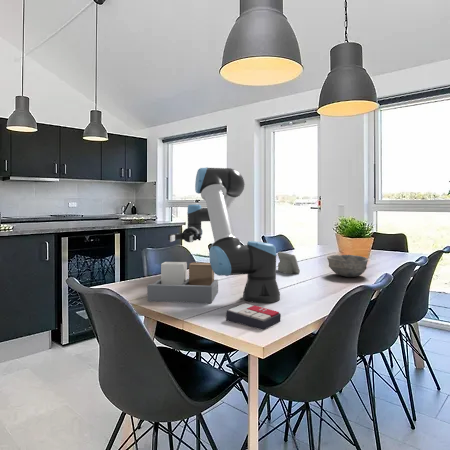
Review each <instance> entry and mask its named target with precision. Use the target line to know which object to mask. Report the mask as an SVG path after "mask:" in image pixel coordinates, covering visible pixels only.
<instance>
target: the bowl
mask: <svg viewBox="0 0 450 450" xmlns="http://www.w3.org/2000/svg"><path fill="white" fill-rule="evenodd" d="M326 259H327V260H328V267H329V269H331V271H332V272H333V273H335V274H336V275H338V276H341V277H345V278H357V277H358V276H361V275H363V274H364V273H365V271H366V270H367V265H368V262H369V258H367V257H364V256H361V255H352V254H342V255H340V254H332V255H328V256H327V257H326Z"/></svg>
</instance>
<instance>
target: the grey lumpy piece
mask: <svg viewBox="0 0 450 450" xmlns="http://www.w3.org/2000/svg"><path fill="white" fill-rule="evenodd" d="M277 256H278V259H279V260H278V261H279V262H278V263H277V271H278V272H280V273H284V274H297V275H298V274H300V271H301V269H300V266H299V263H298V261H297V257H296V255H295V254H292V253H288V252H283V251H278V252H277Z"/></svg>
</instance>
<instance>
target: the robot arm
mask: <svg viewBox="0 0 450 450" xmlns="http://www.w3.org/2000/svg"><path fill="white" fill-rule="evenodd" d="M194 183H195V185H194V191H195V193H196V194H200V196H201V197H200V198H202V199H203V200H204V201H205V204H206V207H202V205H201V204H188V206H187V213H186V214H187V228H185V229H184V230H183V231H182V232H180V233H178V232H175V233H171V234H168V240H169V242H170V243H172V242H175V241H177V240H182V241H183V240H184V241H185V242H187V243H193V242H195V241H201V239H202V235H203V229H202V222H209V223H210V227H211V231H212V236H213V237H212V238H213V240H214V242H213V243H212V244H211V247H210V249H209V251H208V252H209V253H208V258H209V263H210V264H211V267H212V270H213V271H214V275H217V276H226V277H228V276H238V275H247V279H246V283H245V286H244V289H243V293H242V299H243V300H245V301H247V302H250V303H256V304H257V303H258V304H269V303H274V302H278V301H280V300H281V293H280V289H279V285H278V283H277V256H278V254H277V248H276V246H275V244H272V243H269V242H262V241H253V240H249V241H248V240H247V243H246V244H244V245H242V244H241V241H240V239H239V238H238V237H236V236H235V233H234V228H233V224H232V221H231V216H230V213H229V208H230V207H231V206H232V205H233V203H234V201H235V200H236V198H238V197H240V196H241V195H242V194H243V191H244V190H245V185H246V184H245V180H244V177H243V175H242V174H241V173H240V172H239V171H238V170H236V169H235V168H231V167H230V168H229V167H225V168H224V167H208V166H207V167H200V168H198V169H197V171H196V176H195V182H194Z"/></svg>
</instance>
